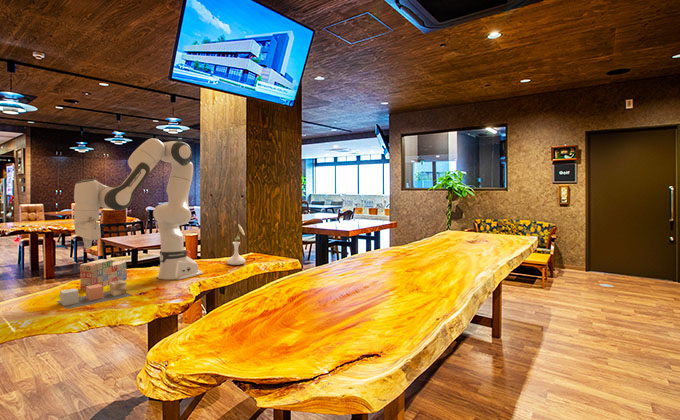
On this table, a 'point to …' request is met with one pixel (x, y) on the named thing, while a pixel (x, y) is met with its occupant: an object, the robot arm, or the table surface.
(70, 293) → the light gray cube
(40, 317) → the table surface
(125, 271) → the stack of blocks
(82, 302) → the charcoal mat
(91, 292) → the terracotta block
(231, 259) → the flower in vase
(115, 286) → the birch block
